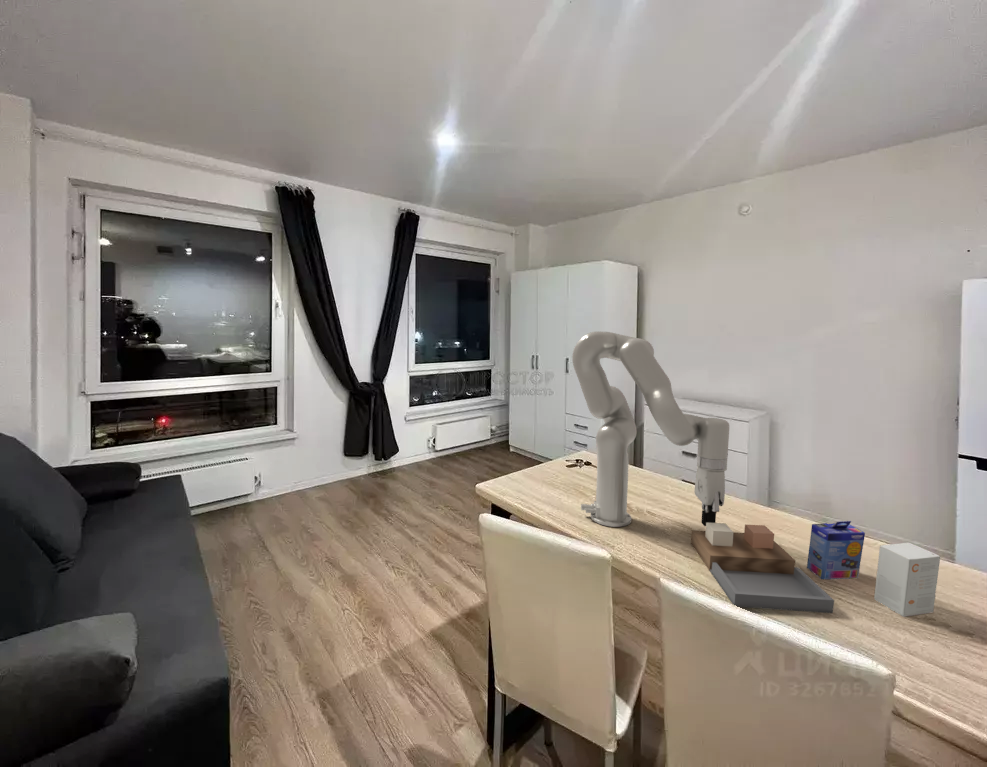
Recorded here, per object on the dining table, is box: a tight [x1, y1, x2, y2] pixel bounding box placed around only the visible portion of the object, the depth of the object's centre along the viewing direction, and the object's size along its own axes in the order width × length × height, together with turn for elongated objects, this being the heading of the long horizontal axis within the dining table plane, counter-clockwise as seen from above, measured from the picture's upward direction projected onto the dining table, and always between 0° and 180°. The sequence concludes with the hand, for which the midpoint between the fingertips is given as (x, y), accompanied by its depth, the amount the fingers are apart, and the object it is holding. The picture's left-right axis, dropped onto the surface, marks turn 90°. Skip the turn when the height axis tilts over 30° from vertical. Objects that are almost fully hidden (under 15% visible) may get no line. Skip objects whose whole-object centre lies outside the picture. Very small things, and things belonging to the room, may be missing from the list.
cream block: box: [705, 522, 734, 546], centre depth 117 cm, size 5×5×4 cm
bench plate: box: [690, 529, 797, 574], centre depth 115 cm, size 20×14×4 cm
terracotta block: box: [743, 524, 775, 549], centre depth 115 cm, size 5×5×4 cm
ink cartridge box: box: [806, 520, 866, 581], centre depth 108 cm, size 10×6×14 cm, turn 95°
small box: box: [873, 542, 941, 618], centre depth 95 cm, size 8×6×13 cm
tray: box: [709, 562, 835, 614], centre depth 101 cm, size 20×14×3 cm
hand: (708, 524), depth 124 cm, fingers closed
